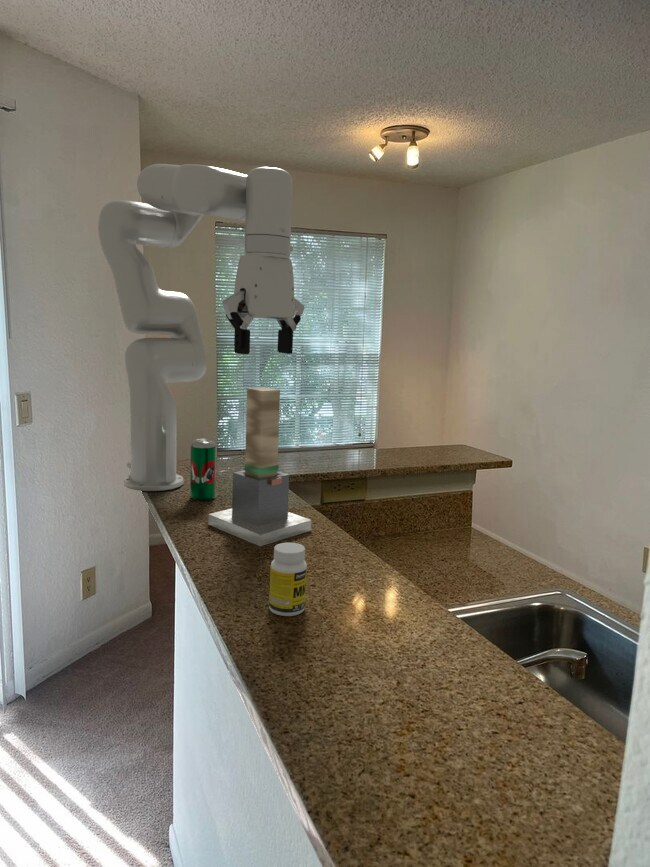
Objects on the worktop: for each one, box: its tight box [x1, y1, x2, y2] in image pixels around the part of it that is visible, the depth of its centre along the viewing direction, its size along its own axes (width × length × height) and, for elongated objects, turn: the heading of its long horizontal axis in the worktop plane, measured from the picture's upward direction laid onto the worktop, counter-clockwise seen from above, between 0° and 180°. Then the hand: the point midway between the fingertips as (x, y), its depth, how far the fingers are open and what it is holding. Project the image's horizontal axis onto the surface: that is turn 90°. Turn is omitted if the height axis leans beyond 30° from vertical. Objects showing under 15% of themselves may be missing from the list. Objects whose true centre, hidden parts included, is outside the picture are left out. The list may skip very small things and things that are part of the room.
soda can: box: [189, 438, 217, 502], centre depth 127 cm, size 5×5×12 cm
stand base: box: [208, 470, 312, 547], centre depth 111 cm, size 14×12×10 cm
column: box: [243, 386, 281, 479], centre depth 109 cm, size 4×4×16 cm
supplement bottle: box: [268, 542, 308, 617], centre depth 81 cm, size 5×5×8 cm
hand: (264, 353), depth 106 cm, fingers open, 9 cm apart
